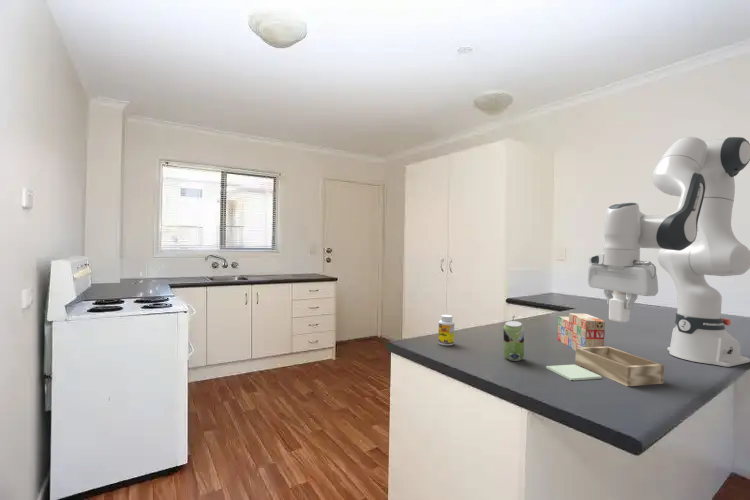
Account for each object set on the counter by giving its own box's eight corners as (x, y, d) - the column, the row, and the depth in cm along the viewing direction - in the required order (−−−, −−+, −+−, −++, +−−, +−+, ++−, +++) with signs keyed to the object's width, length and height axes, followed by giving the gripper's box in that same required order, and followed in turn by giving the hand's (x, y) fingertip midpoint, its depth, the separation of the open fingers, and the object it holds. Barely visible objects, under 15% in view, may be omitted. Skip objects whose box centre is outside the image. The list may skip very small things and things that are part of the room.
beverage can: (524, 357, 120) (525, 320, 120) (523, 364, 113) (524, 325, 113) (503, 354, 122) (505, 318, 122) (501, 361, 116) (502, 322, 116)
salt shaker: (630, 321, 106) (631, 288, 106) (622, 322, 105) (623, 289, 104) (616, 319, 110) (617, 287, 110) (607, 320, 108) (608, 287, 108)
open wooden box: (607, 362, 118) (608, 346, 118) (663, 383, 100) (664, 365, 100) (575, 363, 115) (575, 347, 115) (627, 386, 97) (627, 367, 97)
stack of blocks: (556, 339, 145) (558, 308, 144) (573, 340, 144) (574, 308, 144) (584, 356, 123) (586, 319, 123) (604, 357, 123) (605, 320, 123)
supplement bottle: (434, 343, 135) (435, 315, 135) (445, 341, 138) (446, 313, 138) (446, 346, 130) (447, 317, 130) (457, 344, 133) (457, 316, 133)
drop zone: (574, 366, 113) (574, 364, 112) (601, 378, 103) (601, 376, 103) (546, 368, 110) (546, 366, 110) (571, 380, 100) (571, 378, 100)
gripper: (665, 261, 97) (663, 314, 98) (601, 257, 117) (600, 301, 118) (646, 261, 96) (644, 314, 96) (584, 257, 116) (583, 301, 116)
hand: (619, 307), depth 107 cm, fingers closed on salt shaker, 4 cm apart
